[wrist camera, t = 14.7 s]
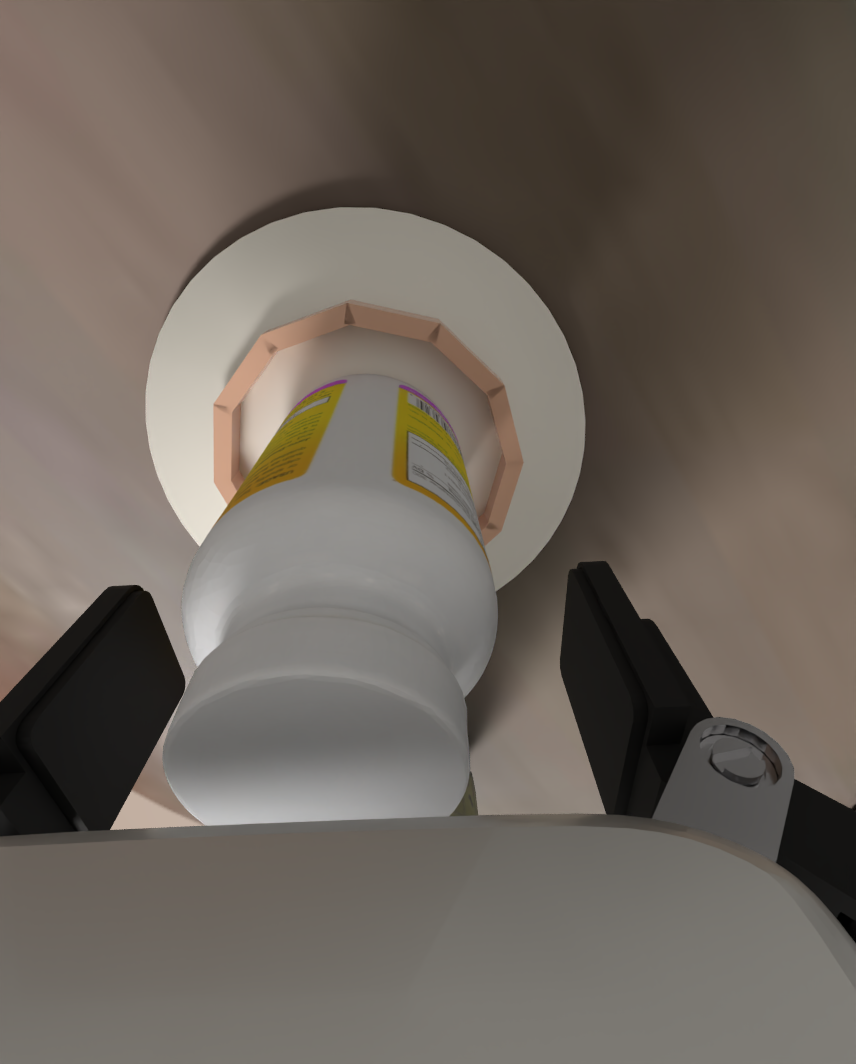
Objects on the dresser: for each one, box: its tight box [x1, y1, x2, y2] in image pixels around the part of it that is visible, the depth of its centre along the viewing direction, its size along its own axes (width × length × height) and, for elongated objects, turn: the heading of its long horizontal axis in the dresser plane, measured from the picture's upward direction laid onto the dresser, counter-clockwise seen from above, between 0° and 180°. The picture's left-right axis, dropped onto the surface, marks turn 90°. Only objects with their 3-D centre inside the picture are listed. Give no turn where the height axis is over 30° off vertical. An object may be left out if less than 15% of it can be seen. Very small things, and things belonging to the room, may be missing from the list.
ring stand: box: [146, 207, 585, 591], centre depth 19 cm, size 16×16×2 cm
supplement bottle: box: [163, 374, 498, 826], centre depth 13 cm, size 7×7×13 cm
